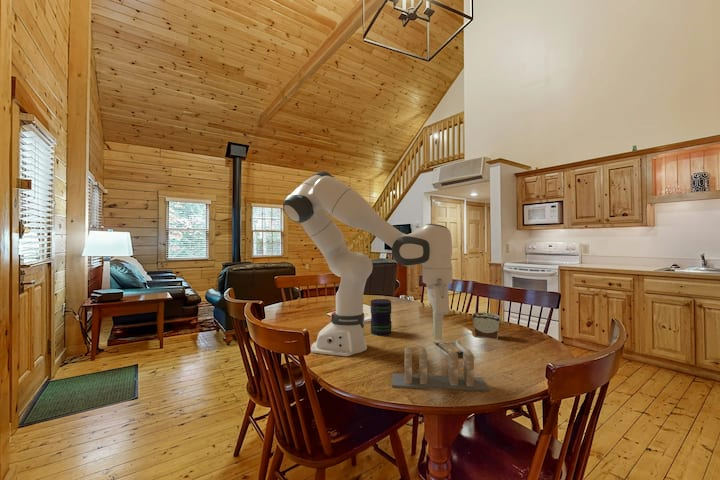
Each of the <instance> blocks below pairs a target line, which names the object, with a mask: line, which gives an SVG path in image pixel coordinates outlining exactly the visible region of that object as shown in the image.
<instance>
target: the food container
mask: <svg viewBox="0 0 720 480" xmlns="http://www.w3.org/2000/svg"><path fill="white" fill-rule="evenodd" d="M471 319H472V321H473V322H472V323H473V330H474V337H477V338H483V339H490V340H494V341H497V340H498V337H499V330H500V328H499V327H500V323H501V322H502V320H501V317H500V315H498V314H495V313H490V312H475V313H472V315H471Z"/></svg>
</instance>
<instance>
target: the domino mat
mask: <svg viewBox="0 0 720 480" xmlns="http://www.w3.org/2000/svg"><path fill="white" fill-rule="evenodd" d="M391 387H392V388H403V389H404V388H405V389H428V390H429V389H430V390H431V389H432V390H448V391H449V390H453V391H473V392H474V391H475V392H490V387H489V386H488V385H487V383H486V382H485V380H484V378H483V377H482V376H474V386H467V385H466V383H465V381H464V379H463V375H458V386H457V385H451V383H450V381H449V378H448V375H440V374H439V375H437V374H427V384H420V379H419V374H415V373H414V374H413V373H412V384H410V383H405V373H391Z"/></svg>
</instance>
